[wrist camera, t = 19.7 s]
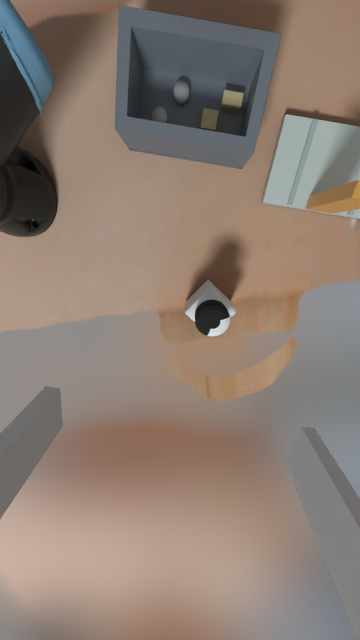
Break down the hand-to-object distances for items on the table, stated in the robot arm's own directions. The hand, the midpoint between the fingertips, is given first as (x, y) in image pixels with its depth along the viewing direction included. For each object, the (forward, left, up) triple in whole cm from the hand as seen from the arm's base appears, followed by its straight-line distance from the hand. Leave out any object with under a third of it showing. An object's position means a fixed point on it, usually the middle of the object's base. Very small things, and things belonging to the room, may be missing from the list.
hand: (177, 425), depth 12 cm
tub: (-4, +28, -37) cm, 46 cm away
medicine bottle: (+5, -3, -37) cm, 37 cm away
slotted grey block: (+21, +23, -36) cm, 48 cm away
